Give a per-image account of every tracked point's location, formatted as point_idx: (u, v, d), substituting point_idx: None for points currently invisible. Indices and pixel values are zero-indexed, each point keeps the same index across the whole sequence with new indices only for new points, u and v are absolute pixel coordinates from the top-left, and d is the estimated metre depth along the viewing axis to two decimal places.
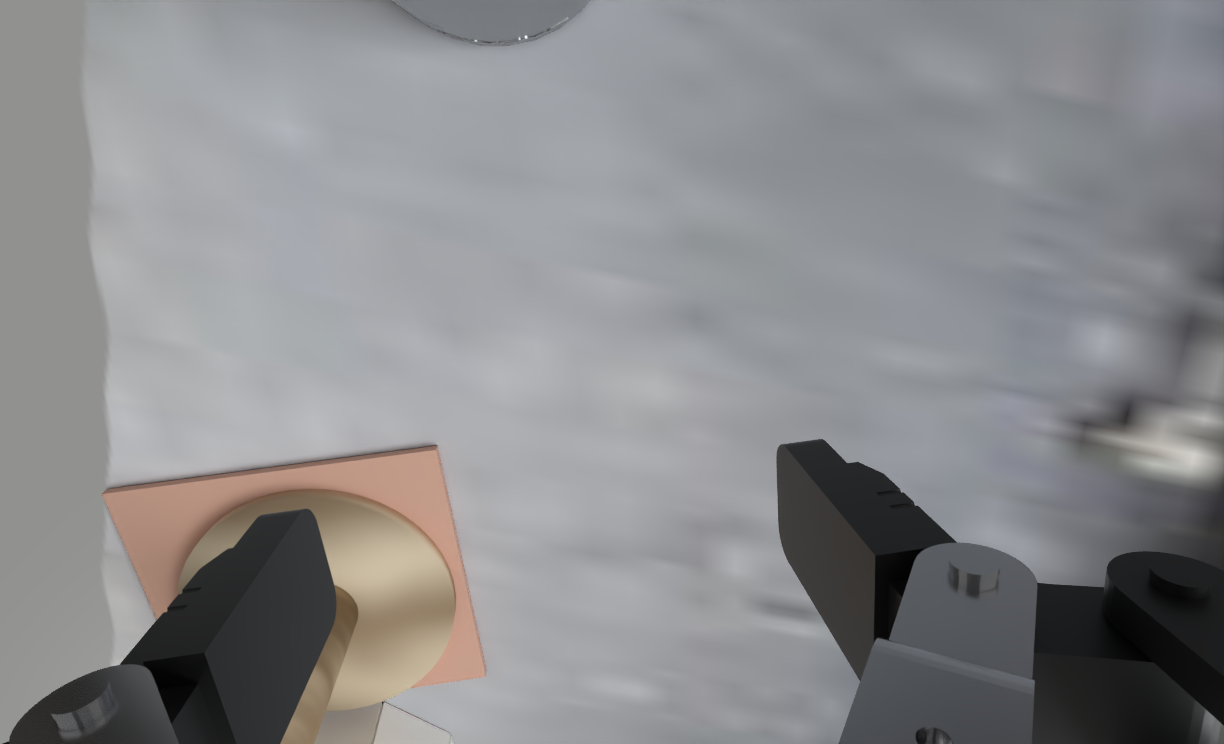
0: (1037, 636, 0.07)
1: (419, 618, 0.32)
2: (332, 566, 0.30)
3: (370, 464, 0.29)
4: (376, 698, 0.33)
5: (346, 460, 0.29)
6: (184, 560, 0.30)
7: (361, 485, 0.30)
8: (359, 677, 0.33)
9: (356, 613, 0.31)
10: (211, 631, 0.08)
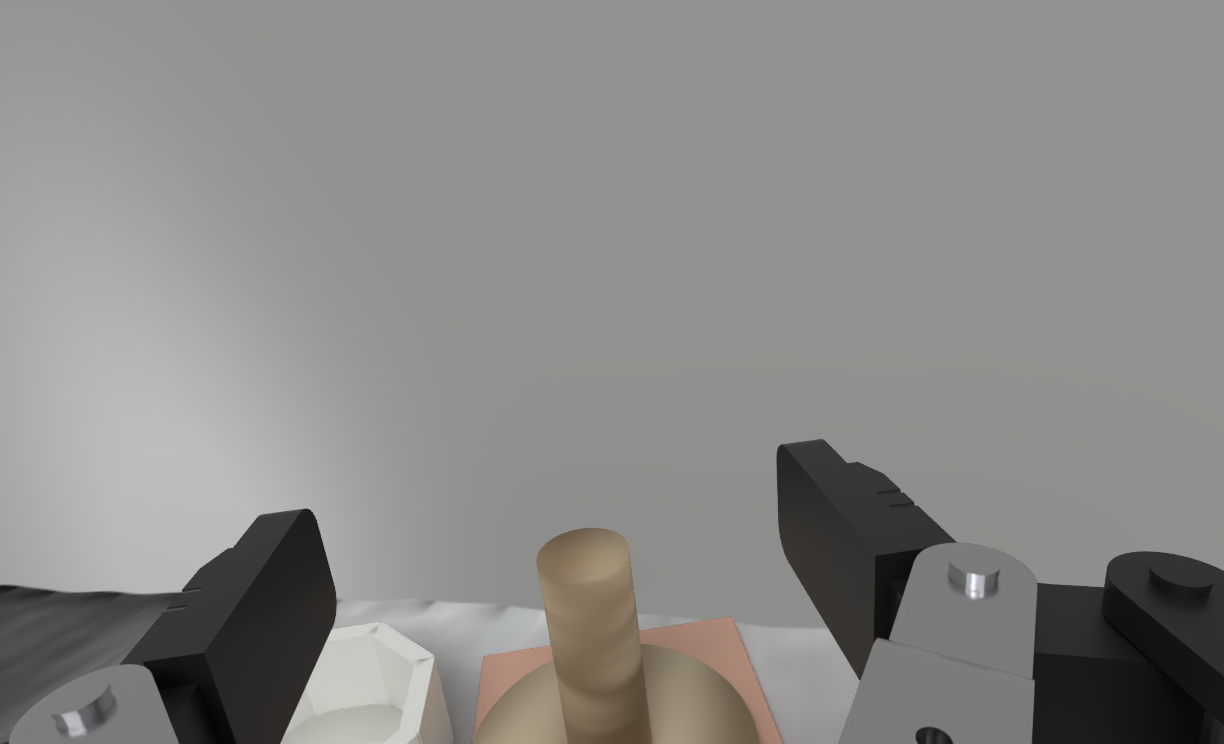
0: (1038, 636, 0.07)
1: None
2: None
3: None
4: None
5: None
6: None
7: None
8: None
9: None
10: (211, 631, 0.08)
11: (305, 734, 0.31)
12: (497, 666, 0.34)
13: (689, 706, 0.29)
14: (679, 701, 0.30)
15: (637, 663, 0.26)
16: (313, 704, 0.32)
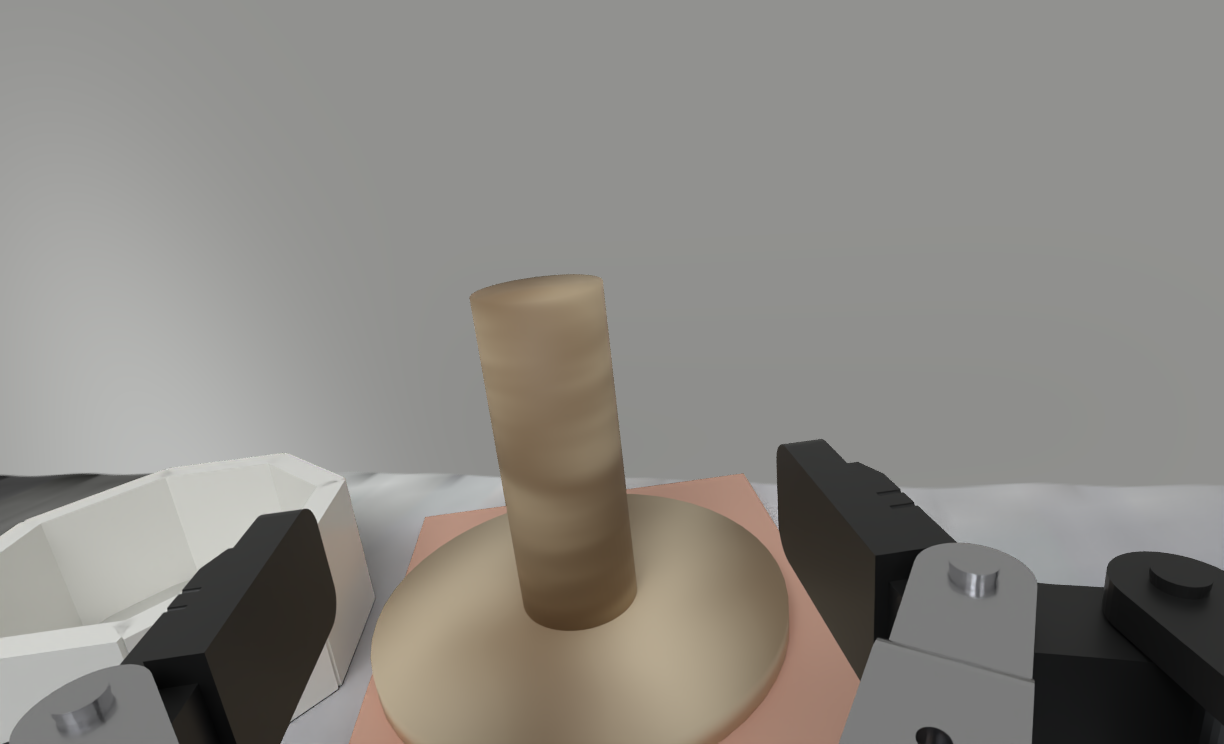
0: (1037, 636, 0.07)
1: (540, 709, 0.16)
2: (664, 605, 0.19)
3: (851, 667, 0.17)
4: (381, 650, 0.19)
5: None
6: None
7: (806, 656, 0.18)
8: (437, 631, 0.19)
9: (577, 621, 0.19)
10: (211, 631, 0.08)
11: None
12: (441, 525, 0.26)
13: (688, 550, 0.22)
14: (675, 546, 0.22)
15: (614, 455, 0.18)
16: (195, 560, 0.24)
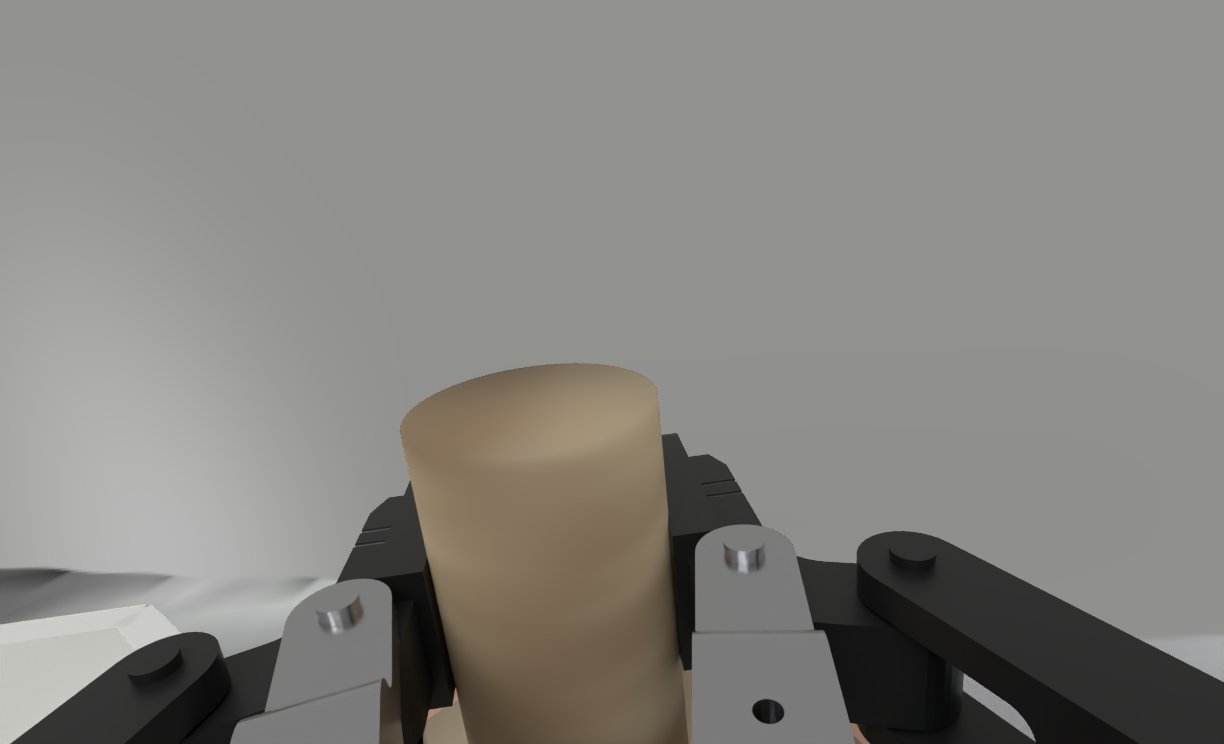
0: None
1: None
2: None
3: None
4: None
5: None
6: None
7: None
8: None
9: None
10: (420, 555, 0.09)
11: None
12: None
13: None
14: None
15: (674, 705, 0.10)
16: None
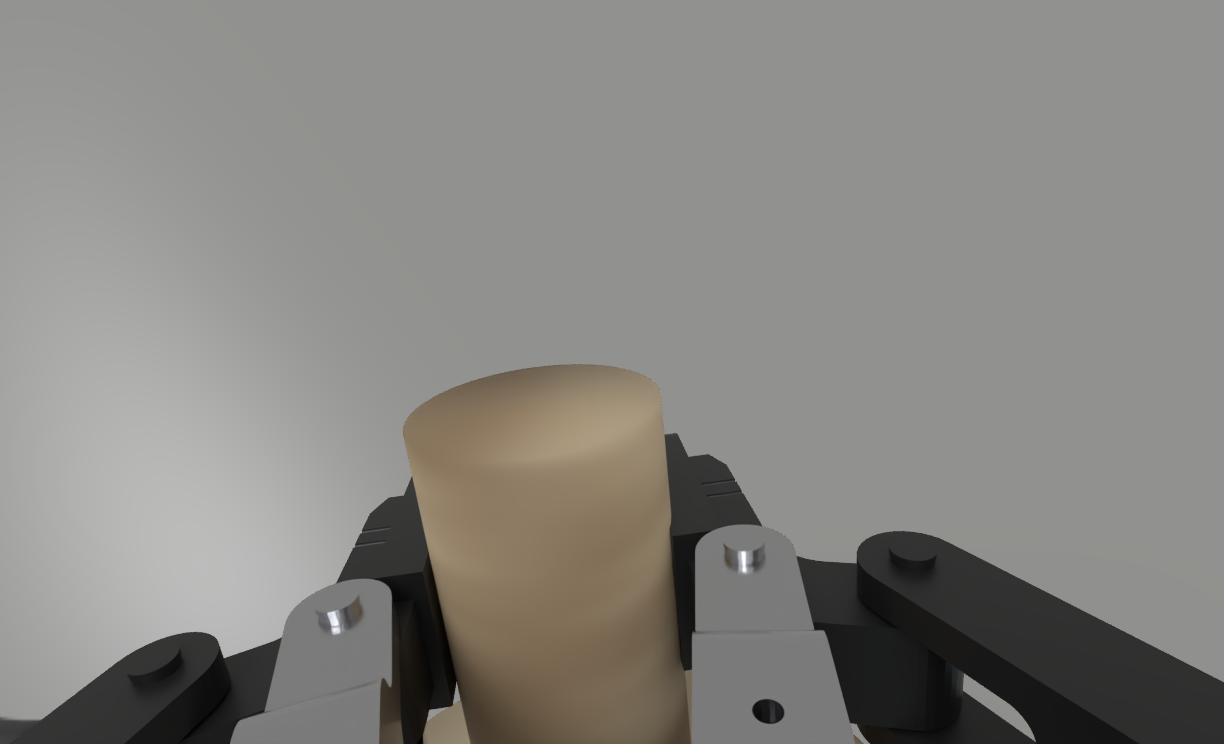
0: None
1: None
2: None
3: None
4: None
5: None
6: None
7: None
8: None
9: None
10: (420, 556, 0.09)
11: None
12: None
13: None
14: None
15: (677, 707, 0.10)
16: None
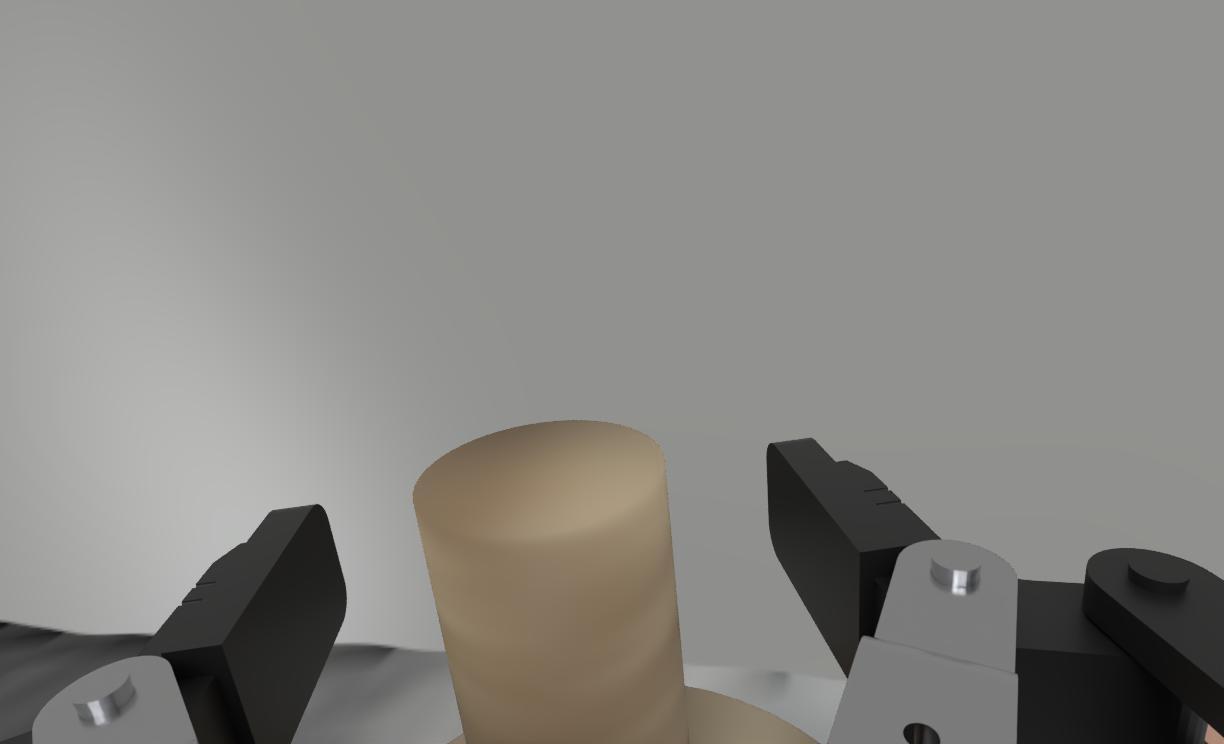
0: (1017, 632, 0.07)
1: None
2: None
3: None
4: None
5: None
6: None
7: None
8: None
9: None
10: (228, 624, 0.08)
11: None
12: None
13: None
14: None
15: None
16: None
